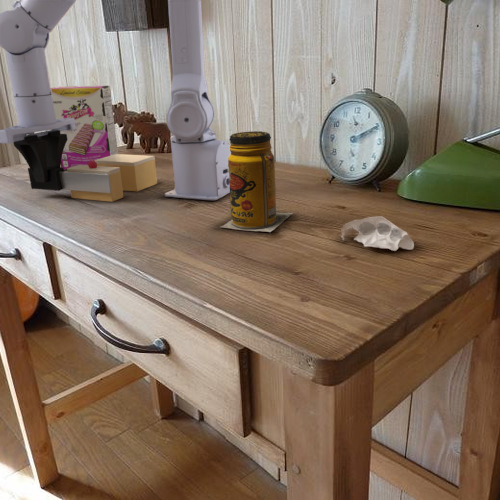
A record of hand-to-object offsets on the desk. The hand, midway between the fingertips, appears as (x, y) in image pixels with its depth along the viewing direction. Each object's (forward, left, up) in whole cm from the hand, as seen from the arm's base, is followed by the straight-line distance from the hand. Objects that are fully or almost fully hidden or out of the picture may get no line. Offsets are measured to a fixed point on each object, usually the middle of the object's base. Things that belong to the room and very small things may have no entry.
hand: (48, 180), depth 90 cm
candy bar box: (+10, -22, -3) cm, 24 cm away
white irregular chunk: (-56, +5, -3) cm, 56 cm away
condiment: (-39, +1, -3) cm, 39 cm away
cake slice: (-8, -2, -3) cm, 9 cm away
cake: (-8, -11, -3) cm, 14 cm away
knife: (-5, 0, -1) cm, 5 cm away
